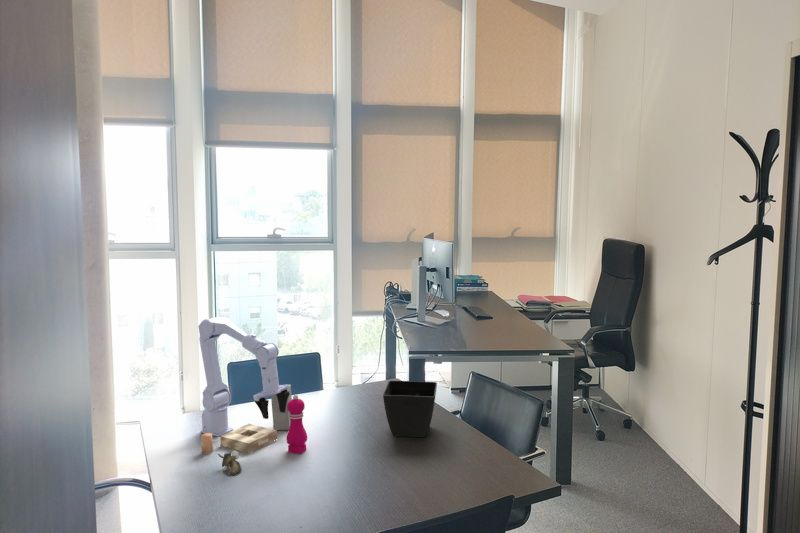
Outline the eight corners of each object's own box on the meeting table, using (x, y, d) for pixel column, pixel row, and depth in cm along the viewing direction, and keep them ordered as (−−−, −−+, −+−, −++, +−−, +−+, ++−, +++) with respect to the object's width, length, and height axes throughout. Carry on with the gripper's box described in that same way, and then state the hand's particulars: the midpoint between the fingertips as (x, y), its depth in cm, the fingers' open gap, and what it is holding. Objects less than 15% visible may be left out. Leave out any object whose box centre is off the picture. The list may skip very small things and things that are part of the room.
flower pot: (437, 422, 235) (437, 380, 233) (435, 441, 216) (435, 396, 214) (389, 421, 237) (388, 380, 235) (383, 440, 218) (382, 395, 216)
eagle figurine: (211, 465, 195) (216, 471, 188) (222, 444, 198) (227, 449, 190) (232, 474, 198) (238, 480, 190) (242, 453, 200) (249, 458, 192)
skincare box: (289, 430, 228) (288, 390, 227) (271, 430, 229) (269, 390, 227) (294, 422, 237) (292, 383, 235) (276, 422, 237) (274, 383, 235)
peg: (200, 452, 209) (199, 435, 208) (208, 448, 212) (207, 432, 212) (207, 454, 207) (206, 437, 207) (215, 450, 210) (214, 434, 210)
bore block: (220, 445, 215) (220, 436, 214) (249, 432, 227) (248, 423, 226) (249, 453, 208) (248, 443, 207) (277, 439, 220) (276, 430, 219)
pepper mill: (303, 455, 205) (301, 398, 203) (283, 453, 207) (281, 397, 205) (310, 447, 212) (309, 392, 210) (291, 445, 214) (289, 391, 212)
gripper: (260, 384, 207) (265, 422, 207) (292, 373, 218) (297, 410, 219) (248, 382, 211) (252, 420, 212) (280, 372, 222) (284, 408, 223)
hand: (274, 415), depth 216 cm, fingers open, 7 cm apart
